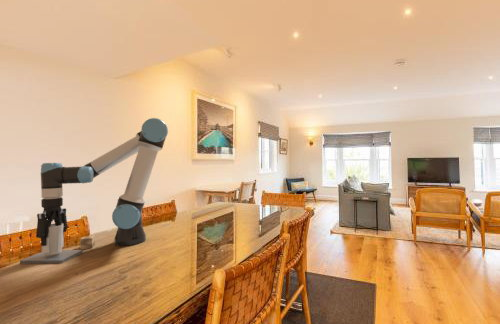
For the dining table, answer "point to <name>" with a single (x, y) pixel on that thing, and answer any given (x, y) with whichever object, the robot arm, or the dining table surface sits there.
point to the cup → (55, 239)
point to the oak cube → (87, 242)
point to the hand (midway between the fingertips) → (53, 249)
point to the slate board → (52, 257)
